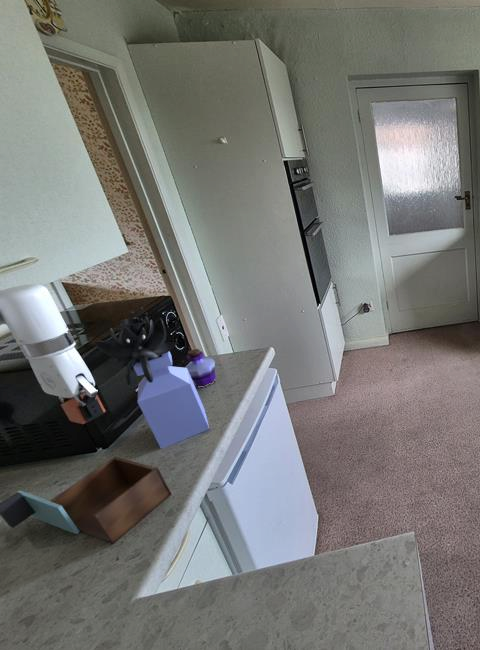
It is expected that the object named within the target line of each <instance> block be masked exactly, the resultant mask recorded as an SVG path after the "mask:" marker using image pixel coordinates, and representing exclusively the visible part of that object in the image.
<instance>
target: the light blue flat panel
mask: <svg viewBox="0 0 480 650" xmlns="http://www.w3.org/2000/svg"><path fill="white" fill-rule="evenodd" d="M0 516H1V518H2V519H3V521H5V523H6V524H7V525H8V527H10V528H11V529H14V528H16V527H17V526H18V525H20V524H21V523H22V522H24V521H26V520H27V519H29V518H30V517H31V516H33V517H34V518H35V519H36V520H39V521H40V522H44V523H46V524H49V525H51V526H54V527H56V528H59V529H62V530H64V531H66V532H69V533H72V534H75V535H78V534H79V533H80V532H81V531H79V530H78V528H77V527H76V526H75V524H74V523H73V521H72V520H71V519H70V517H69V516H68V514H67V513H66V511H65V510H64V509H63V507H62V506H61V505H58V504H56V503H53V502H51V500H48V499H44V498H42V497H39V496H36V495H33V494H30V493H29V492H26V491H22V490H18V491H16V492H15V493H14V494H12V495H11V496H9V497H7V498H6V499H4V500H2V501H1V502H0Z"/></svg>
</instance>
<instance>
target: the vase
mask: <svg viewBox="0 0 480 650" xmlns="http://www.w3.org/2000/svg"><path fill="white" fill-rule="evenodd" d="M140 310H141V311H142V310H144V308H143V306H141V307H139V309H137V310H136V311H135V312H134V311H130V315H129V316H128V318H123V319H122V320H121V321H120V322H121V327H120V326H118V327H117V333H118V337H117V336H116V334H115V333H114V331H113V328H112V327H110V328H109V333H110V336H111V339H105V340H97V341H96V340H95V341H94V342H93V344H94V346H95V347H97V348H98V349H99V350H100V351H101V352H103V354H105V355H107V356H108V357H110V358H113V359H116V360H117V361H116V362H115V364H114V365H113V367H112V369H120V368H125V371H124V379H125V383H126V384H127V386H131V385H132V383H133V373H134V372H133V371H135V374H136V376H137V377H140V376H143V375H144V377H143V378H142V379H141V380H140V382H138V383H137V386H138V387H137V404H138V406H139V408H140V410H141V412H142V414H143V416H144V419H145V420H146V424H148V426H149V428H150V430H151V432H152V434H153V436H154V438H155V440H156V441H157V444H158V446H159V448H160V449H161V450H162V449H165V448H167V447H169V446H172V445H175V444H177V443H179V442H182V441H184V440H187V439H190V438H191V437H194V436H196V435H199V434H201V433H204V432H207V431H209V430H210V426H209V421H208V417H207V413H205V412H206V410H205V407H204V404H203V402H202V400H201V397H200V395H199V393H198V390H197V387H196V386H195V382H194V381H193V379H191V376H190V374H189V371H188V369H187V368H185V367H182V366H173V358H172V354H171V352H170V351H172V350H173V348H175V346H177V344H178V342H177V341H173V342H166V341H167V334H168V333H167V330H166V326H165V324H164V321H163V319H162V318H161V317H159V318H157V320H156V321H155V322H153V320H152V319H149V318H148V314H149V313H148V312H144V314H143V315H142V316H140V317H135V316H136V314H137V313H138V312H139V311H140ZM132 315H133V316H132ZM131 316H132V318H131ZM144 316H145V318H144V319H143V318H142V317H144Z"/></svg>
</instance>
